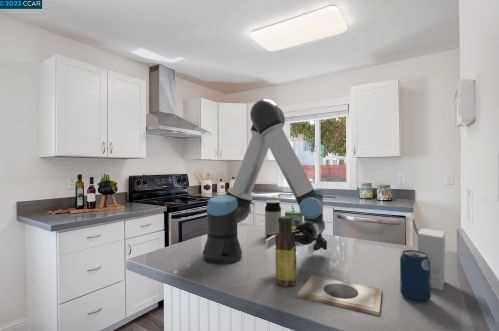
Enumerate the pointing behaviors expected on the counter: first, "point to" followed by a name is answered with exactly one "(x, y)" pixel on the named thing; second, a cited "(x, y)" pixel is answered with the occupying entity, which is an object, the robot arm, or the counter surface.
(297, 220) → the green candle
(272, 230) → the travel mug
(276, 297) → the counter surface
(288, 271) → the sauce bottle
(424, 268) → the soda can
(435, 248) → the skincare box
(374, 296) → the wooden picture frame
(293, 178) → the robot arm
